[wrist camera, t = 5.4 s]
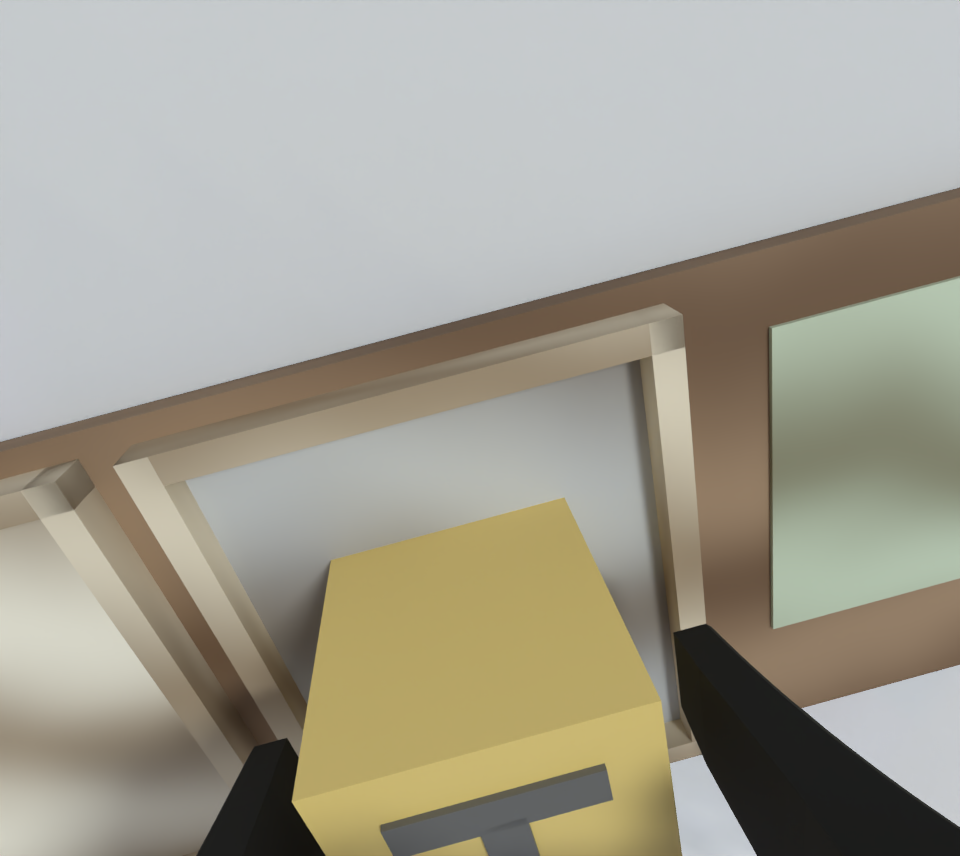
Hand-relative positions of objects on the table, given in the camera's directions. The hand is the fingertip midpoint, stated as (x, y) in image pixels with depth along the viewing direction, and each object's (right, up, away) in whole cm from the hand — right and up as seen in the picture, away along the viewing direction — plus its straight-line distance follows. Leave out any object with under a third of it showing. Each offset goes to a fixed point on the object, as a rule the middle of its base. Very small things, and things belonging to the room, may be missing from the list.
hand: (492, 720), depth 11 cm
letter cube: (0, +1, +2) cm, 3 cm away
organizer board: (-1, +1, +3) cm, 4 cm away
